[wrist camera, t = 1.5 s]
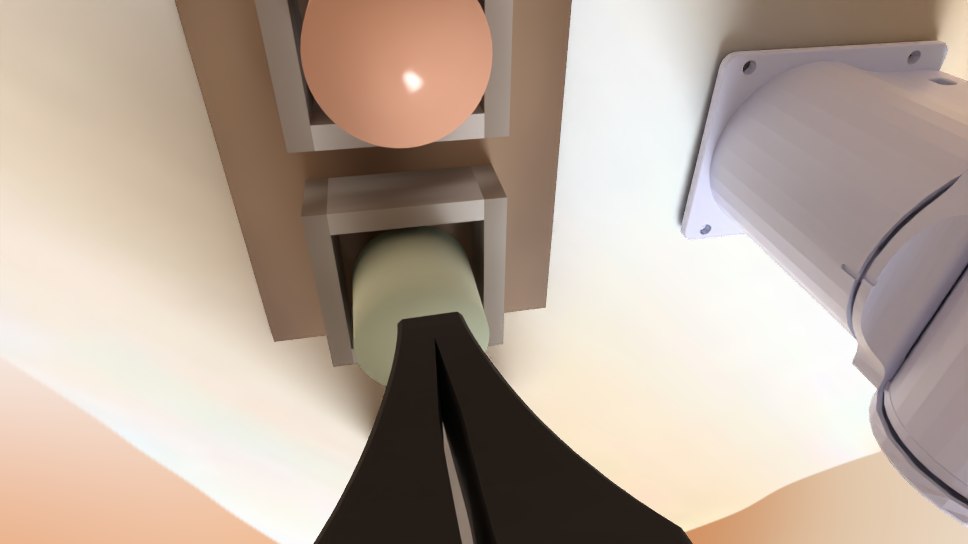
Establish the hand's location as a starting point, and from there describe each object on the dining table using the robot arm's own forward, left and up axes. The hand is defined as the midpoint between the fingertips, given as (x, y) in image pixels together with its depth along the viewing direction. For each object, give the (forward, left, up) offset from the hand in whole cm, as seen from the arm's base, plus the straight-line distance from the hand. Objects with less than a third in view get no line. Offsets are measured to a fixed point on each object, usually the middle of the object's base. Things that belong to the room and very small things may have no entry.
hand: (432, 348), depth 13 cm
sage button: (0, +4, -8) cm, 9 cm away
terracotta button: (0, -5, -8) cm, 10 cm away
